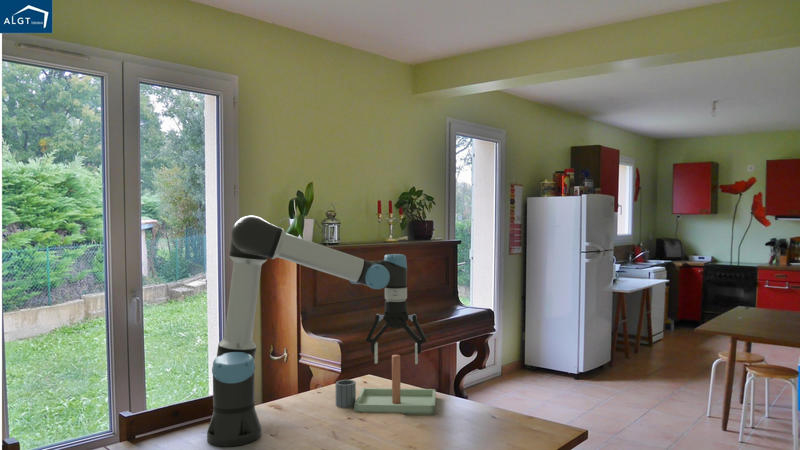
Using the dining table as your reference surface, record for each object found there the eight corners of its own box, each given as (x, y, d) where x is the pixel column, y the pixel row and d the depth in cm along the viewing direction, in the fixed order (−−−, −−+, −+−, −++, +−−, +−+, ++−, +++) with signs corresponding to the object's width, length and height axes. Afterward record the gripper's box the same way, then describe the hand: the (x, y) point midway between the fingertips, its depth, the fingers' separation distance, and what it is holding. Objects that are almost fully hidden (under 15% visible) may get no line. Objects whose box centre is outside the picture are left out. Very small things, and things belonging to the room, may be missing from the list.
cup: (334, 409, 190) (334, 385, 190) (337, 402, 196) (337, 379, 196) (354, 409, 189) (353, 385, 189) (357, 403, 196) (356, 379, 196)
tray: (354, 413, 185) (354, 404, 185) (362, 396, 203) (362, 388, 203) (434, 414, 184) (434, 405, 184) (435, 397, 202) (435, 389, 201)
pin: (392, 405, 192) (381, 358, 192) (393, 402, 195) (382, 356, 194) (409, 402, 192) (399, 355, 191) (410, 399, 195) (400, 353, 194)
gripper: (357, 301, 190) (357, 365, 190) (432, 301, 188) (433, 366, 189) (360, 298, 198) (361, 359, 198) (433, 298, 196) (433, 360, 196)
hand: (396, 363), depth 193 cm, fingers open, 13 cm apart
